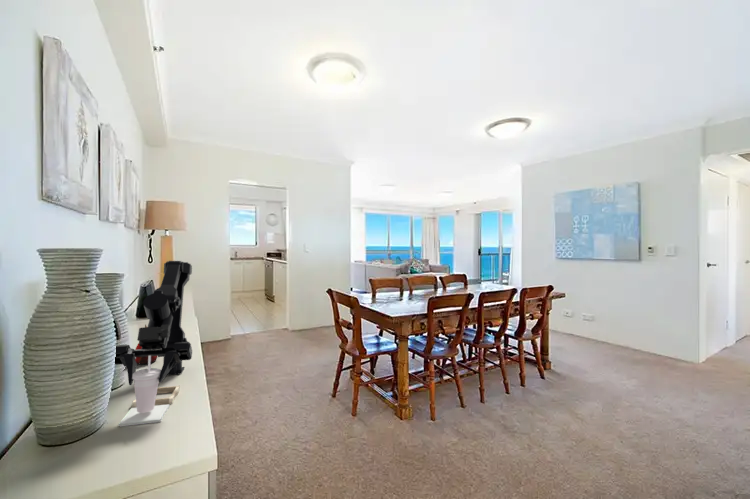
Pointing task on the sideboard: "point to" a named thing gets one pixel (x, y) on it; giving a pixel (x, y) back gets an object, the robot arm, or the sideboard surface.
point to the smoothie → (146, 387)
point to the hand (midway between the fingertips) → (145, 383)
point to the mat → (144, 416)
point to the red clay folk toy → (144, 359)
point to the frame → (164, 400)
